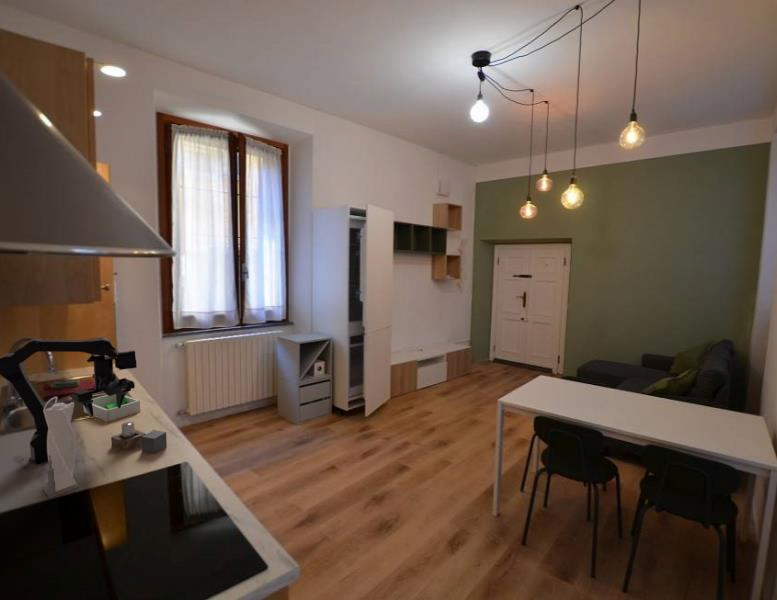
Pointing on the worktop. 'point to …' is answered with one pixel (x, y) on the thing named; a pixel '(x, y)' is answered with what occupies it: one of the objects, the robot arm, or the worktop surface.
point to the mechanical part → (115, 404)
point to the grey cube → (154, 442)
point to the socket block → (127, 441)
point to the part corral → (113, 413)
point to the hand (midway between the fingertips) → (105, 412)
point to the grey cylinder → (128, 430)
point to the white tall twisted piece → (60, 448)
